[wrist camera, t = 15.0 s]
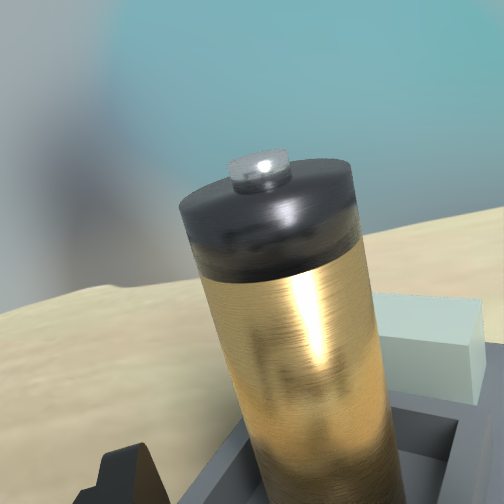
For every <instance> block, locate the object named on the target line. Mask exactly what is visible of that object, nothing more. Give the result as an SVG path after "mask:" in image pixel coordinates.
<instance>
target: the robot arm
mask: <svg viewBox="0 0 504 504" xmlns="http://www.w3.org/2000/svg"><path fill="white" fill-rule="evenodd" d="M72 504H170V501H169V498H168V495H167V493H166V490H165V488H164V486H163V483H162V481H161V479H160V476H159V474H158V471H157V469H156V467H155V464H154V462H153V460H152V457H151V455H150V452H149V450H148V448H147V446H146V445H145V444H144V443H138V444H135V445H132V446H128V447H125V448H122V449H118V450H115V451H112V452H108V453H105V454H104V455H103V457H102V460H101V464H100V469H99V474H98V479H97V483H96V486H94V487H91V488H87V489H84V490H81V491H80V492H79V494H78V496H77V497H76V499H75V500H74V502H73V503H72Z"/></svg>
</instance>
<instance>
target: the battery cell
mask: <svg viewBox="0 0 504 504" xmlns="http://www.w3.org/2000/svg"><path fill="white" fill-rule="evenodd" d="M227 166H228V170H229V174H230V177H227V178H225V179H222V180H219V181H217V182H214V183H211V184H209V185H207V186H204V187H202V188H201V189H198V190H196V191H195V192H193V193H191V194H190V195H188V196H187V197H185V198H184V199H183V200H182V201H181V202H180V204H179V210H180V213H181V216H182V220H183V223H184V226H185V229H186V233H187V236H188V239H189V242H190V246H191V249H192V252H193V255H194V259H195V262H196V265H197V268H198V272H199V275H200V278H201V281H202V285H203V288H204V291H205V294H206V298H207V301H208V304H209V307H210V311H211V314H212V317H213V320H214V324H215V327H216V330H217V333H218V337H219V340H220V343H221V346H222V350H223V353H224V356H225V360H226V363H227V366H228V369H229V373H230V376H231V379H232V382H233V386H234V389H235V392H236V395H237V399H238V402H239V405H240V408H241V412H242V415H243V418H244V421H245V425H246V428H247V431H248V434H249V438H250V441H251V444H252V447H253V451H254V454H255V457H256V460H257V464H258V467H259V470H260V473H261V477H262V480H263V483H264V486H265V490H266V493H267V496H268V499H269V503H270V504H407V502H406V496H405V490H404V484H403V478H402V472H401V466H400V460H399V454H398V448H397V442H396V436H395V430H394V424H393V418H392V412H391V406H390V400H389V394H388V388H387V382H386V376H385V370H384V364H383V358H382V352H381V346H380V340H379V334H378V328H377V322H376V316H375V309H374V303H373V297H372V291H371V285H370V279H369V273H368V267H367V261H366V255H365V249H364V243H363V237H362V231H361V226H360V219H359V213H358V207H357V201H356V195H355V190H354V184H353V177H352V171H351V166H350V164H349V163H348V162H346V161H343V160H339V159H308V160H299V161H292V162H289V158H288V153H287V150H286V149H274V150H267V151H262V152H258V153H254V154H250V155H247V156H243V157H240V158H238V159H235V160H233V161H231V162H229V163H228V164H227Z"/></svg>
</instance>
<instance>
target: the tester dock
mask: <svg viewBox="0 0 504 504" xmlns="http://www.w3.org/2000/svg"><path fill="white" fill-rule="evenodd" d="M372 297H373V303H374V309H375V316H376V322H377V328H378V334H379V340H380V346H381V352H382V358H383V364H384V370H385V376H386V382H387V388H388V394H389V400H390V406H391V412H392V418H393V424H394V430H395V436H396V442H397V448H398V454H399V460H400V466H401V472H402V478H403V484H404V490H405V496H406V502H407V504H504V344H498V343H488V342H485V336H484V321H483V306H482V299H467V298H450V297H434V296H417V295H401V294H384V293H372ZM177 504H270V503H269V499H268V496H267V493H266V490H265V486H264V483H263V480H262V477H261V473H260V470H259V467H258V464H257V460H256V457H255V454H254V451H253V447H252V444H251V441H250V438H249V434H248V431H247V428H246V425H245V421H244V418H242V419H241V420H240V422H239V423H238V424H237V426H236V427H235V428H234V430H233V431H232V432H231V434H230V435H229V436H228V437H227V439H226V440H225V441H224V443H223V444H222V445H221V447H220V448H219V449H218V451H217V452H216V453H215V455H214V456H213V457H212V459H211V460H210V461H209V463H208V464H207V465H206V466H205V468H204V469H203V470H202V472H201V473H200V474H199V476H198V477H197V478H196V480H195V481H194V482H193V484H192V485H191V486H190V488H189V489H188V490H187V492H186V493H185V494H184V495H183V497H182V498H181V499H180V501H179V502H178V503H177Z"/></svg>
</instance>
